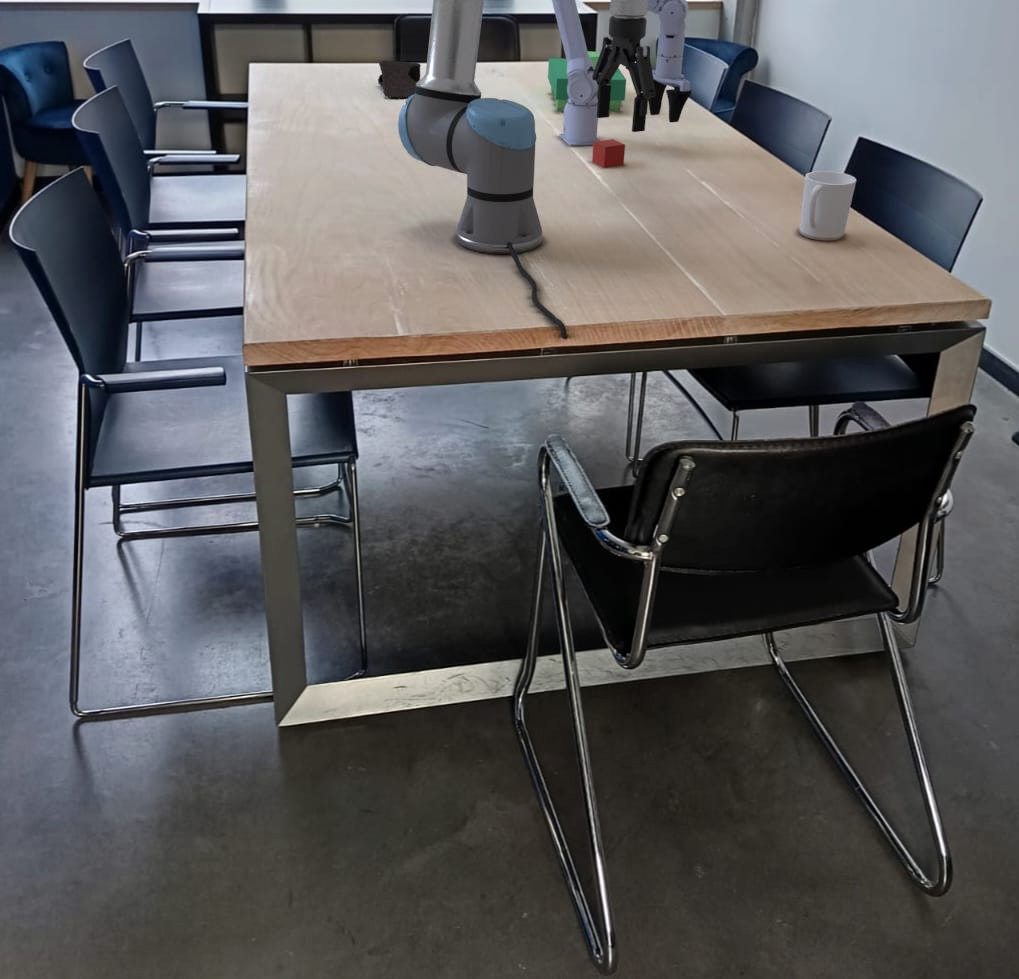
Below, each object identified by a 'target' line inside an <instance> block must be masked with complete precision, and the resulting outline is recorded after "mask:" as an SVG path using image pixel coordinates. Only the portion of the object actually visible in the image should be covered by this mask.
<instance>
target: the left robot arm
mask: <svg viewBox="0 0 1019 979" xmlns="http://www.w3.org/2000/svg"><path fill="white" fill-rule="evenodd" d="M484 3H485V0H433V1H432V10H431V18H430V19H431V20H430V28H429V29H430V30H429V41H428V51H427V57H426V58H427V59H426V68H425V74H424V76H423V77H421V78H420V80H419V81H418V82H417V83H416V89H415V94H414V95H412V96H410V97H409V98H406V100H405V104H403V105H402V106H401V108H400V111H399V115H398V122H397V123H398V124H397V125H398V126H397V127H398V128H397V129H398V135H399V138H400V142H401V144H402V146H403V148H404V149H405V150H406V152H407V154H408V155H409V156H411V158H413V159H415V160H416V161H420V162H422V163H424V164H426V165H427V166H430V167H437V168H441V169H446V170H448V171H453V172H456V173H459V174H463V175H466V192H467V193H466V198H465V202H464V205H463V209H462V211H461V214H460V218H459V220H458V224H457V228H456V241H457V243H458V244H459V245H461V246H462V247H464V248H466V249H468V250H470V251H475V252H479V253H486V254H497V255H499V254H500V255H506V254H507V255H508V254H510V255H511V257H512V259H513V261H514V263H515V266H516V268H517V270H518V271H519V272H520V273H521V275H522V276H523V277H524V278H525V279H526V280H527V281H528V282H529V283H530V286H531V300H532V302H533V304H534V305H535V307H536V308H538V309H539V310H540V311H541V313H543V314H544V315H546V317H548V318H549V319H550V320H551V321H552V322H553V323H554V324H555V325H557V326H558V327H559V330H560V335H561V338H562V339H563V340H568V339H569V336H568V333H567V328H566V326H565V323H564V322H563V321H562V320H560V319H559V318H557V317H556V316H555V315H554V314H553V313H552V312H551V311H550V310H549V309H548V308H546V307H545V306H544V305H543V304H542V303H541V302H540V300H539V299H538V297H537V296H538V295H537V293H538V286H537V283H536V281H535V279H534V278H533V277H532V276H531V275H530V274H529V273H528V272H527V271H526V270H525V269H524V266H523V265H522V263H521V260H520V259H519V256H518V255H517V253H524V252H527V251H530V250H533V249H536V248H538V247H539V246H540V245H541V244H542V243H543V229H542V224H541V221H540V220H541V219H540V218H539V214H538V213H539V212H538V210H537V206H536V204H535V199H534V184H535V162H536V143H537V133H536V120H535V115H534V113H533V112H532V111H531V110H530V108H528V107H526V106H525V105H523V104H521V103H518V102H516V101H513V100H508V99H504V98H503V99H499V98H496V97H482V91H481V89H480V88H479V87H478V86H477V84H476V81H475V78H476V69H477V62H478V53H479V47H480V46H479V45H480V37H481V29H482V21H483V12H484V5H485V4H484ZM609 5H610V6H609V13H610V15H611V16H610V17H609V21H608V22H609V23H608V35H609V36H604V37H603V39H602V46H601V50H600V52H599V53H600V55H599V58H598V61H597V64H596V67H595V70H594V73H593V76H592V79H593V80H596V82H597V85H598V97H597V98H598V104H597V118H598V119H603V118H610V111H609V110H610V96H611V86H610V85H607V84H611V81H610V80H611V79H612V77H613V76H614V74H615V72H616V71H617V69H618V68H619V67H620V66H622V67H625V70H626V71H628V73H629V76H630V79H631V82H632V86H633V88H634V91H635V95H636V96H635V97H634V98H633V113H632V124H631V132H632V133H638V132H639V133H640V132H645V131H646V122H647V121H646V120H647V114H648V108H649V102H648V99H649V98H652V97H655V96H656V91H655V85H654V79H653V73H652V70H653V68H652V63H651V47H650V46H649V45H644V46H642V45H641V40H642V39H643V38H645V37H646V33H647V22H648V20H647V18H646V17H645V16H647V15H648V8H647V7H648V0H610V3H609ZM599 73H601V74H599ZM649 90H650V91H649ZM558 491H559V492H564V491H565V485H561V484H559V485H558Z"/></svg>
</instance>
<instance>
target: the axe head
mask: <svg viewBox="0 0 1019 979" xmlns="http://www.w3.org/2000/svg"><path fill="white" fill-rule="evenodd" d="M378 66H379V68H380V72H381V74H379V75H378V79H377V84H378V85H379V86H380V87H381V88H382V89H383V95H384V96H385V97H388V98H394V99H395V98H396V99H403V98H405V99H408V98H409V97H410V96H412V95H414V94H415V89H416V83H417V82H418V81H419V80H420V79H421V63H419V62H410V61H408V62H407V61H397V60H388V59H387V60H380V61H379V62H378Z"/></svg>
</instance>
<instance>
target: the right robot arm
mask: <svg viewBox="0 0 1019 979" xmlns="http://www.w3.org/2000/svg"><path fill="white" fill-rule="evenodd" d="M551 3H552V6H553V12H554V16H555V19H556V22H557V27H558V31H559V35H560V39H561V43H562V46H563V47H562V48H563V51H564V55H565V59H567V76H568V85H567V93H568V96H569V99H568V102H567V104H566V105H565V108H564V111H563V122H562V123H563V124H562V125H563V126H562V133H559V134H558V137H560V139H562V140H563V141H564V142H565V143H566V144H567V145H569V146H572V147H574V146H593V142H594V141H601V139H599V138H598V127H599V126H598V123H599V118H597V104H598V98H597V96H596V93H597V92H598V85H597V82H596V80H593V79H592V76H593V73H594V70H595V69H594V66H593V62H592V60H591V59H590V57H589V55H588V52H587V51H588V47H587V44H586V39H585V34H584V31H583V28H582V27H583V26H582V23H581V19H580V14H579V10H578V6H577V2H576V0H551ZM647 10H649V11H650V12H651V13H653V14H654V15H658V19H659V22H660V27H659V32H658V40H657V49H656V50H657V51H656V62H655V69H652V73H653V79H654V85H655V91H656V96H655V97H652V98H649V99H648V109H649V115H650V116H657V115H660V114H661V108H662V103H663V99H664V98H663V97H664V95H665V94H664V93H665V92H666V96H667V100H668V101H667V102H668V122H669V123H678V122H679V121H680V118H681V115H682V112H683V109H684V107H685V105H686V103H687V101H688V99H689V98H690V96H691V95H692V90H691V81H689V80H688V79H686V78H685V74H682V68H683V58H684V49H685V39H686V33H685V31H686V21H685V19H686V18H687V16H688V14H689V3H688V2H687V0H648V7H647ZM667 86H668V87H671V88H672V89H666V88H667ZM649 91H650V90H649Z"/></svg>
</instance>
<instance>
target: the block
mask: <svg viewBox="0 0 1019 979" xmlns="http://www.w3.org/2000/svg"><path fill="white" fill-rule="evenodd" d="M625 154H626V144H625V143H622V142H621V141H618V140H616V139H614V138H612V139H602V140H600V141H594V142H593V145H592V159H591V162H592V163H593V164H595V165H597V166H600V167H602V168H604V169H605V168H613V167H620V166H624V165H625Z"/></svg>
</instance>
